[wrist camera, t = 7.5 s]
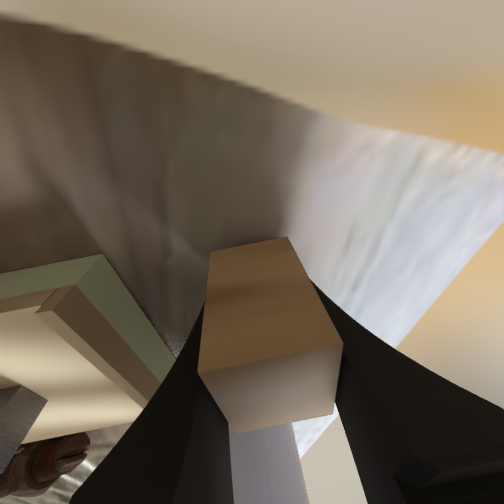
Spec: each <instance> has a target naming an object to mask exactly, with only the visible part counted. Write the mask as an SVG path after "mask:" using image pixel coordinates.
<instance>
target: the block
mask: <svg viewBox="0 0 504 504" xmlns="http://www.w3.org/2000/svg"><path fill="white" fill-rule="evenodd" d="M342 350H343V341H342V340H341V338H340V336H339V334H338V332H337V330H336V328H335V326H334V324H333V323H332V321H331V319H330V317H329V315H328V313H327V311H326V309H325V307H324V305H323V304H322V302H321V300H320V298H319V296H318V294H317V292H316V290H315V288H314V287H313V285H312V283H311V281H310V279H309V277H308V275H307V273H306V271H305V269H304V268H303V266H302V264H301V262H300V260H299V258H298V256H297V254H296V252H295V250H294V249H293V247H292V245H291V243H290V241H289V239H288V237H282V238H277V239H271V240H266V241H261V242H256V243H251V244H246V245H241V246H236V247H231V248H226V249H221V250H216V251H211V252H210V260H209V269H208V278H207V288H206V297H205V306H204V316H203V325H202V334H201V344H200V353H199V362H198V372H197V373H198V374H199V376H200V378H201V379H202V381H203V382H204V384H205V386H206V387H207V389H208V390H209V392H210V394H211V395H212V397H213V398H214V400H215V402H216V403H217V405H218V407H219V408H220V410H221V411H222V413H223V415H224V416H225V418H226V419H227V421H228V423H229V424H230V426H231V427H232V429H233V431H234V432H235V434H237V433H242V432H247V431H252V430H257V429H262V428H267V427H272V426H277V425H281V424H286V423H291V422H296V421H301V420H306V419H311V418H316V417H321V416H326V415H331V414H333V409H334V403H335V396H336V389H337V383H338V376H339V370H340V363H341V356H342Z"/></svg>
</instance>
